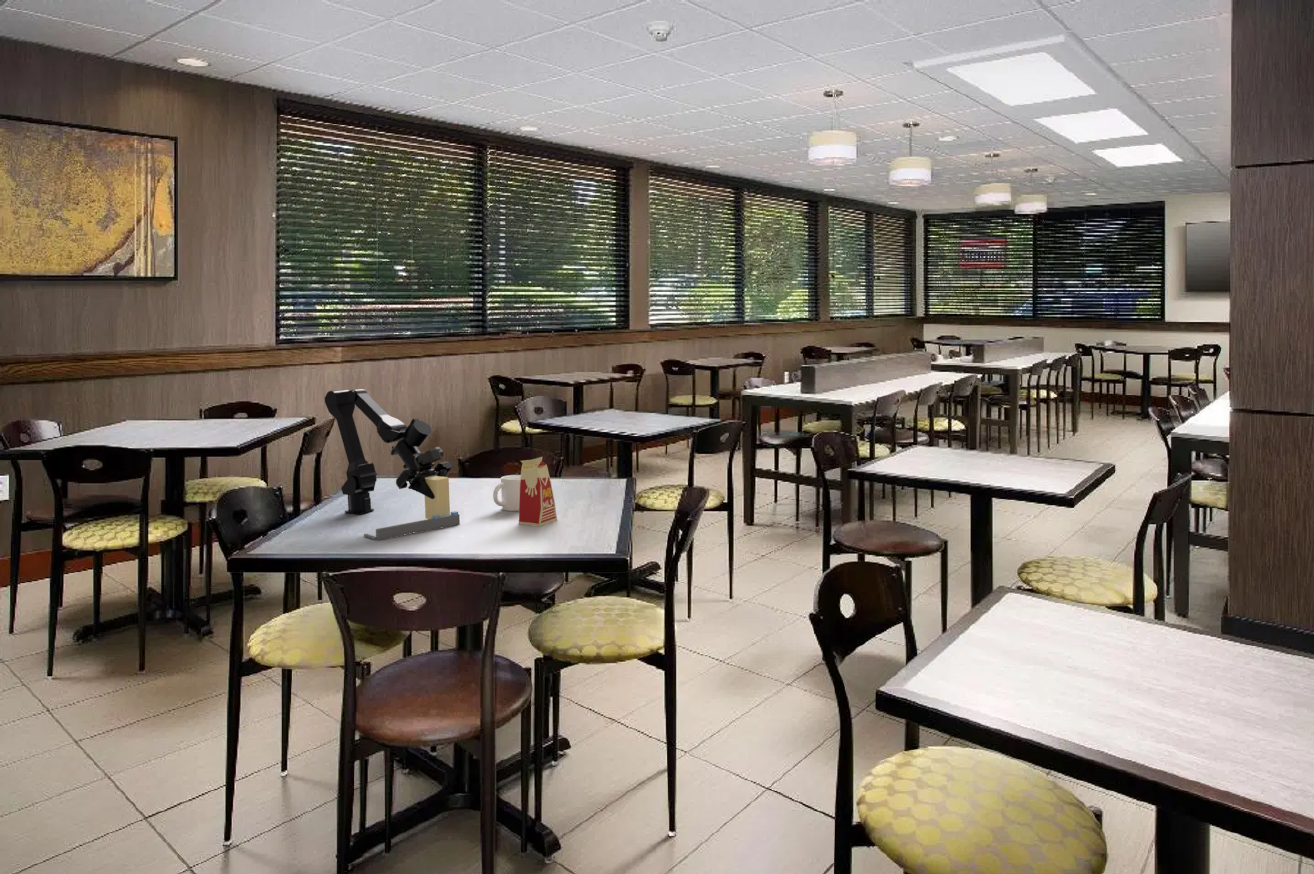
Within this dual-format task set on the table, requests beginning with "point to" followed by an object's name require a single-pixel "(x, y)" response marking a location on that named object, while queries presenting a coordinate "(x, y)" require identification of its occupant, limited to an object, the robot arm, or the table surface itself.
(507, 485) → the mug
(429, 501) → the wooden block
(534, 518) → the milk carton
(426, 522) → the gray bench frame
